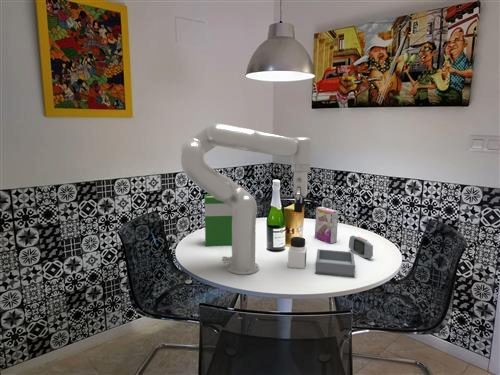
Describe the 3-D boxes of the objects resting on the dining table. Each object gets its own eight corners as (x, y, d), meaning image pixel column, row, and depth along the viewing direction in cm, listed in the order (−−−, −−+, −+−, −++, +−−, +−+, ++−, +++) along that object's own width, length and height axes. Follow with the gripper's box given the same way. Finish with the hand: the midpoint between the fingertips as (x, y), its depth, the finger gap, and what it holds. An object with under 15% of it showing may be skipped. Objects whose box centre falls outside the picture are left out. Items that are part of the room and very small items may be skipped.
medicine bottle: (305, 268, 151) (306, 241, 149) (287, 267, 152) (288, 239, 150) (306, 262, 158) (307, 235, 156) (289, 261, 159) (290, 234, 157)
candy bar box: (314, 238, 190) (315, 207, 187) (321, 236, 193) (322, 206, 190) (330, 244, 181) (331, 212, 178) (337, 242, 184) (338, 210, 181)
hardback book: (240, 240, 186) (240, 193, 181) (242, 245, 179) (242, 197, 174) (205, 241, 184) (204, 194, 179) (205, 246, 176) (204, 197, 172)
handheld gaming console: (347, 250, 173) (348, 234, 172) (352, 249, 174) (353, 233, 173) (368, 261, 160) (370, 243, 159) (374, 260, 161) (375, 242, 160)
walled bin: (315, 273, 146) (315, 261, 145) (317, 260, 161) (317, 249, 160) (354, 277, 143) (355, 265, 142) (352, 263, 157) (353, 252, 157)
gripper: (308, 171, 139) (306, 215, 142) (311, 165, 155) (309, 205, 158) (288, 170, 140) (287, 214, 143) (293, 165, 157) (292, 204, 160)
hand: (299, 209), depth 151 cm, fingers open, 9 cm apart
